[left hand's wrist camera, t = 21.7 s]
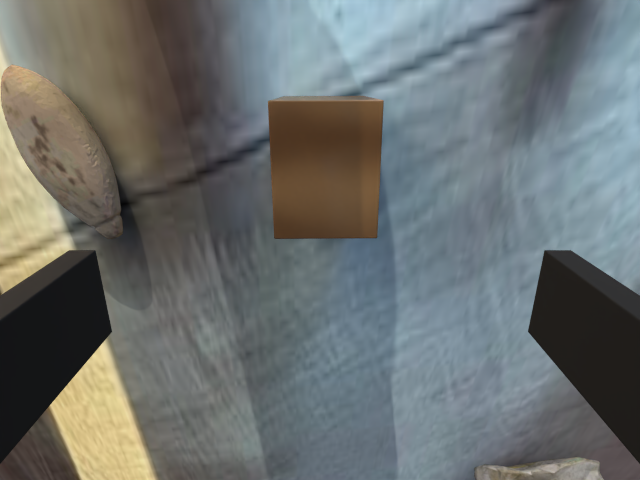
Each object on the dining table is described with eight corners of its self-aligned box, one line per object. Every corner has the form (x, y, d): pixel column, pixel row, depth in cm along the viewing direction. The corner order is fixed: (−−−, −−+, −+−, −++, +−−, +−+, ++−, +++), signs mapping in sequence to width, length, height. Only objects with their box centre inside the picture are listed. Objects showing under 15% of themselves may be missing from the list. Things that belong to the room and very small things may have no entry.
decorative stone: (98, 243, 40) (79, 257, 37) (-7, 84, 35) (-40, 84, 31) (153, 219, 39) (139, 231, 36) (54, 53, 34) (26, 49, 31)
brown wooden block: (361, 196, 38) (377, 238, 28) (286, 196, 38) (274, 238, 28) (363, 95, 35) (383, 100, 25) (283, 96, 35) (267, 100, 25)
